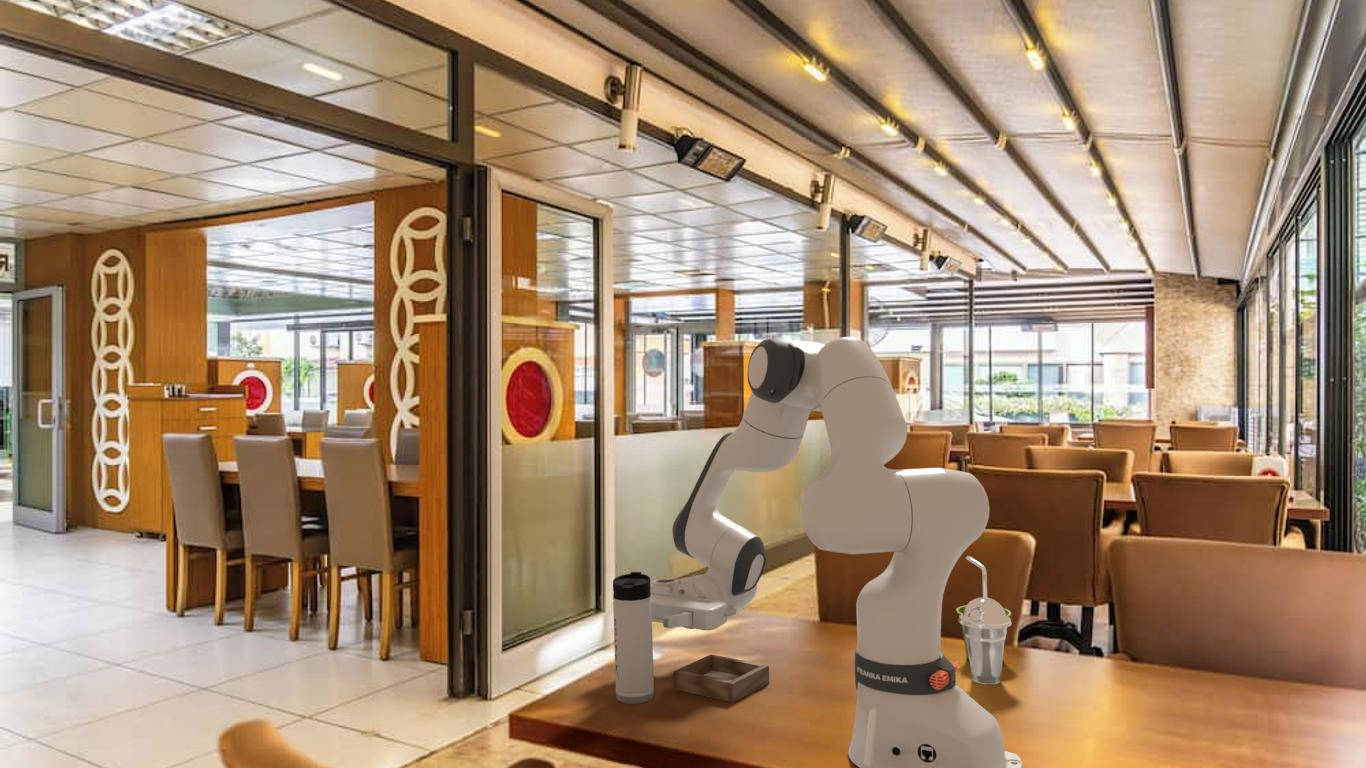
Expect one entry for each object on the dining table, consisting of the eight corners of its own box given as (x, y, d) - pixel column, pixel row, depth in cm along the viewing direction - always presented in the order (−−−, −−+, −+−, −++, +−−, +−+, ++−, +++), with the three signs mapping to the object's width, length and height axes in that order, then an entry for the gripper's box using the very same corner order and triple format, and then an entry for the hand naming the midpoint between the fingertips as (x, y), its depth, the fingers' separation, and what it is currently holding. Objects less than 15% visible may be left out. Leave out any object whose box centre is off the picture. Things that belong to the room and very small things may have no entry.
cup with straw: (961, 687, 153) (958, 566, 153) (958, 670, 162) (955, 555, 162) (1015, 690, 151) (1012, 567, 151) (1010, 672, 160) (1007, 556, 160)
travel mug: (658, 691, 155) (654, 571, 155) (649, 705, 149) (645, 580, 149) (622, 689, 157) (618, 571, 157) (611, 703, 150) (607, 579, 150)
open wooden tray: (769, 683, 158) (768, 665, 158) (733, 702, 149) (732, 683, 149) (711, 671, 165) (710, 654, 165) (673, 689, 156) (673, 671, 156)
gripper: (742, 628, 161) (694, 647, 150) (649, 612, 173) (599, 629, 162) (741, 591, 161) (694, 608, 150) (649, 578, 173) (598, 593, 162)
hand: (644, 619), depth 156 cm, fingers open, 8 cm apart
